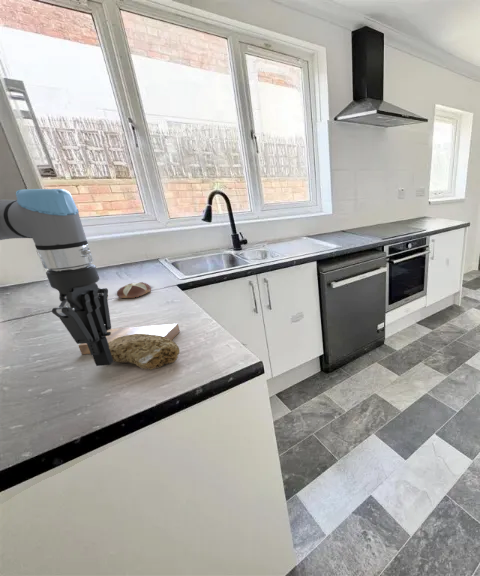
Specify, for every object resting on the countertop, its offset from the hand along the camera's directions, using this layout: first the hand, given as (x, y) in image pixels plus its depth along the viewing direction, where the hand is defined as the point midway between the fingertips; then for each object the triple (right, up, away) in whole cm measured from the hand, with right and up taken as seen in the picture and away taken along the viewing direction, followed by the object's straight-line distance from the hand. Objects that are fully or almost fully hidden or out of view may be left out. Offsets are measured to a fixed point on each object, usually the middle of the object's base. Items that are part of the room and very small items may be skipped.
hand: (105, 363), depth 72 cm
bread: (-45, +15, +64) cm, 79 cm away
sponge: (-2, -3, +14) cm, 14 cm away
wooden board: (-12, +1, +23) cm, 26 cm away
